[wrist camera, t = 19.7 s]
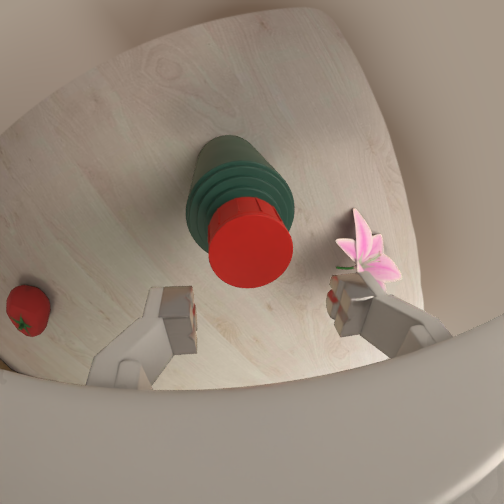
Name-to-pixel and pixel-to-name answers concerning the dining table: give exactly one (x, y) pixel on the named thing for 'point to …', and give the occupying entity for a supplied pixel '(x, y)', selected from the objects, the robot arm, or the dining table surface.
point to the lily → (369, 253)
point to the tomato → (28, 309)
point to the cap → (248, 243)
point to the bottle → (233, 184)
